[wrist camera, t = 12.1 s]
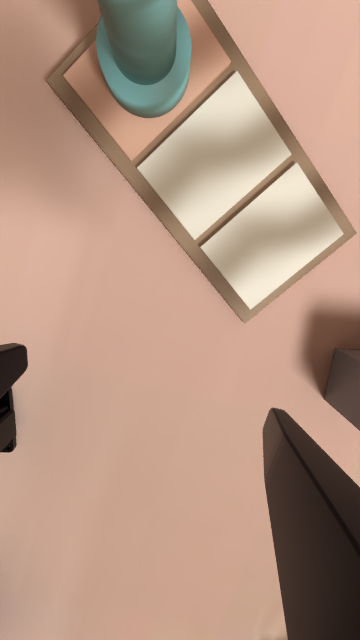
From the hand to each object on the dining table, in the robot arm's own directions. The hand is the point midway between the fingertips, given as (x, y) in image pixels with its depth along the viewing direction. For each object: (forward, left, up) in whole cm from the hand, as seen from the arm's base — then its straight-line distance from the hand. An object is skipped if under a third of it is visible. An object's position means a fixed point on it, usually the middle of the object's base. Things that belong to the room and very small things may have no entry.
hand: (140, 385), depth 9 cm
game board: (+3, +12, -12) cm, 17 cm away
